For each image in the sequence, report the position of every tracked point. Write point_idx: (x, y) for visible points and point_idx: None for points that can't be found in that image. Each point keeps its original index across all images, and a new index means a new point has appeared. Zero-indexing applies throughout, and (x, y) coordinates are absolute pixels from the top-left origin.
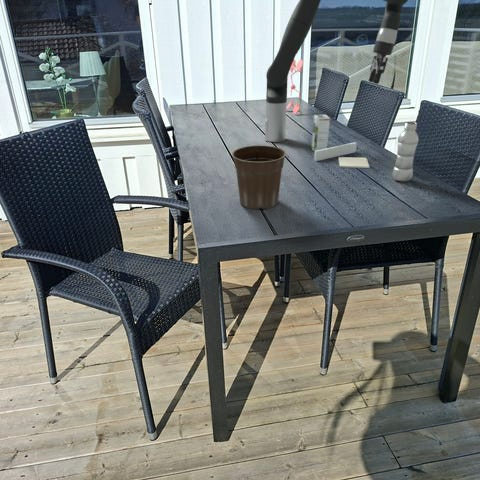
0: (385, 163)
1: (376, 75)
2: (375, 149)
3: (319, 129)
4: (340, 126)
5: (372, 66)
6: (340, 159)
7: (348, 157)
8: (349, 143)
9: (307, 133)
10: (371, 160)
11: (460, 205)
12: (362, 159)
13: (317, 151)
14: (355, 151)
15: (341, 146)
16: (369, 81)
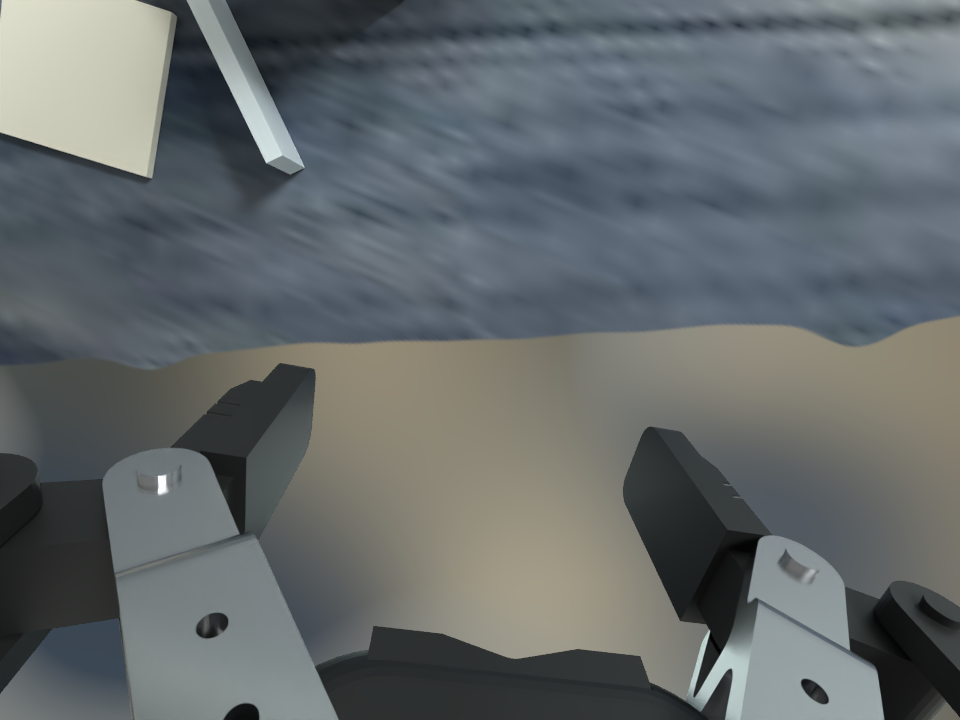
0: (76, 252)
1: (220, 447)
2: (328, 309)
3: None
4: (877, 308)
5: (753, 631)
6: (122, 6)
7: (157, 73)
8: (256, 107)
9: (778, 6)
10: (130, 200)
11: None
12: (117, 142)
13: None
14: (287, 171)
15: (200, 26)
16: (644, 432)
